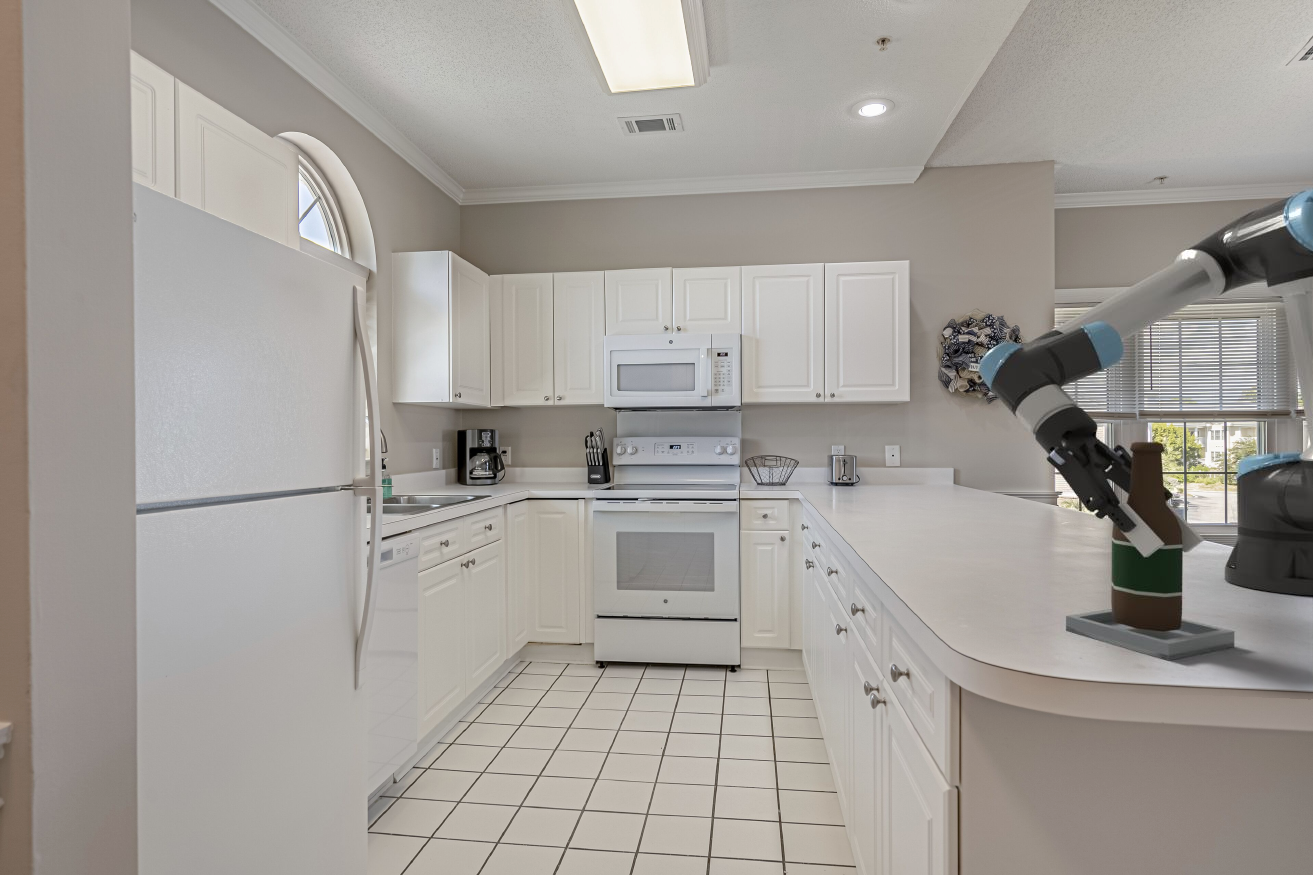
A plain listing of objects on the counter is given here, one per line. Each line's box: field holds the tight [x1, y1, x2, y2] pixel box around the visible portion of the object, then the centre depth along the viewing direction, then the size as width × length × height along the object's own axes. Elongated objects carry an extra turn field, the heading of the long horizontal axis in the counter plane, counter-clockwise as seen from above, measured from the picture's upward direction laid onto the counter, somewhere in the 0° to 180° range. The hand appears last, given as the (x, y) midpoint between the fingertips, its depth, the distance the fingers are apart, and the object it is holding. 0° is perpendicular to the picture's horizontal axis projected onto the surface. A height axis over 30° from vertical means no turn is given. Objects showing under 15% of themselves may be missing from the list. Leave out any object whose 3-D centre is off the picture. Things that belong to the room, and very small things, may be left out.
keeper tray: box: [1065, 608, 1235, 661], centre depth 88 cm, size 13×13×2 cm
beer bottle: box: [1110, 441, 1184, 632], centre depth 88 cm, size 8×8×24 cm
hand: (1174, 548), depth 85 cm, fingers closed on beer bottle, 7 cm apart
